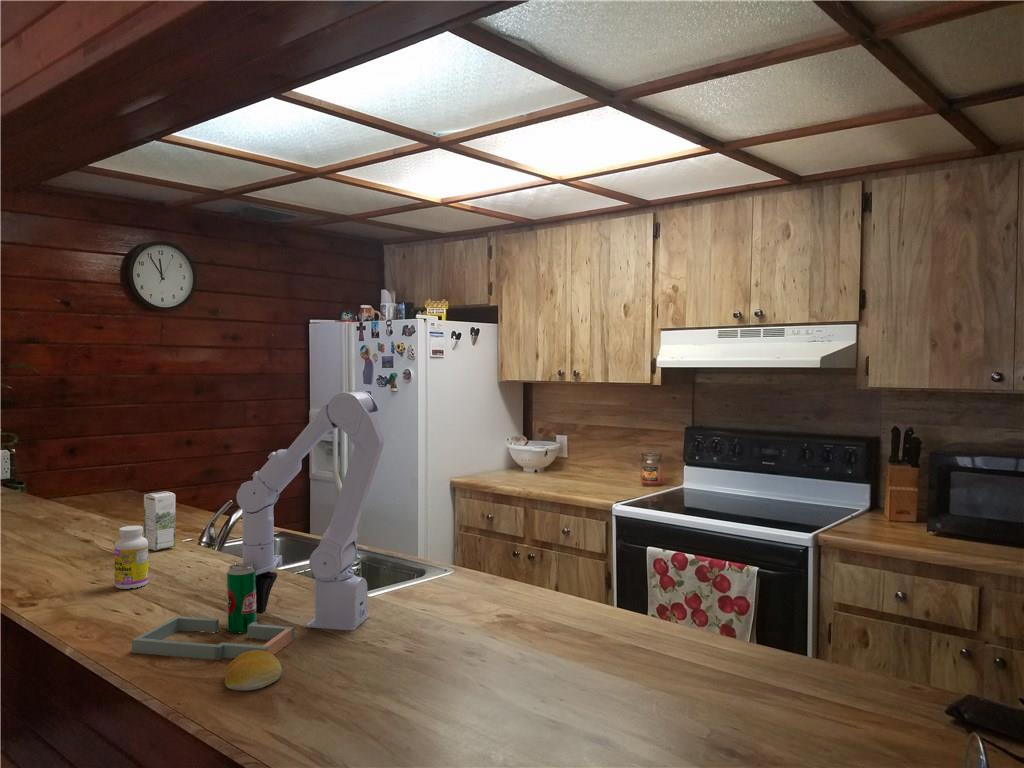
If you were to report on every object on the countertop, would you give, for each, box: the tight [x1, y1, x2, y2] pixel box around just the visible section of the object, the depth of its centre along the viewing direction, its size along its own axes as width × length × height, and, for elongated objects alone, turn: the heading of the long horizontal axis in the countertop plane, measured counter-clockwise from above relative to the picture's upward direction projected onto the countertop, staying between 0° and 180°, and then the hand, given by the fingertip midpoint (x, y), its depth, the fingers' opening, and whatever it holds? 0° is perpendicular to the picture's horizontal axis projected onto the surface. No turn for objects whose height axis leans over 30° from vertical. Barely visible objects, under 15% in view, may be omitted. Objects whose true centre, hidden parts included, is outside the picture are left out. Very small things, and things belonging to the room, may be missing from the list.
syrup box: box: [143, 490, 177, 551], centre depth 197 cm, size 6×6×14 cm
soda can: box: [226, 562, 257, 634], centre depth 137 cm, size 5×5×12 cm
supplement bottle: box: [113, 525, 149, 590], centre depth 164 cm, size 7×7×13 cm
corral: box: [131, 615, 295, 661], centre depth 129 cm, size 24×12×2 cm, turn 79°
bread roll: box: [224, 650, 283, 692], centre depth 114 cm, size 8×9×4 cm
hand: (258, 612), depth 143 cm, fingers closed
